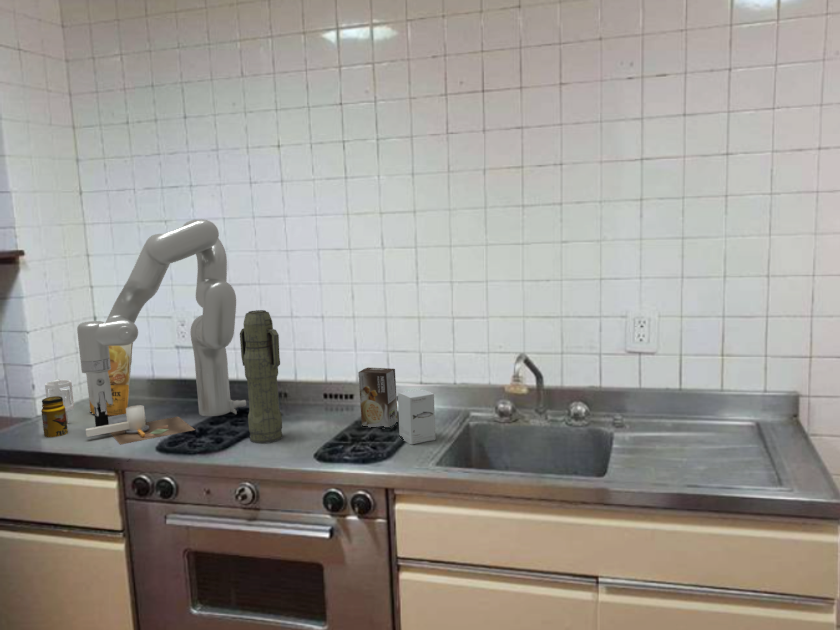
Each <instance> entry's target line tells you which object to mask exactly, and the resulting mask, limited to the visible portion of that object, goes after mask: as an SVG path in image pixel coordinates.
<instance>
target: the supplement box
mask: <svg viewBox="0 0 840 630" xmlns="http://www.w3.org/2000/svg"><path fill="white" fill-rule="evenodd" d="M397 414H398V432H399V433H398V435H400V436H402V437H403V439H404V440H403V441H404V442H405V443H407V444H408V445H409V444H410V445H411V446H412V445H414V444H420V443H426V442H430V441H435V440H436V417H435V416H436V415H435V393H433V392H431V391H428V390H425V389H423V388H421V389H419V388H418V389H414V390H413V389H412V390H407V391H400V392H397Z"/></svg>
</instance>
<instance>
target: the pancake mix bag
mask: <svg viewBox="0 0 840 630" xmlns="http://www.w3.org/2000/svg"><path fill="white" fill-rule="evenodd" d="M133 344H134V342H133V343H131V344H129V345H125V346H109V354H110V364H111V369H110V370H108V374H109V379H110V386H111V393H112V400H113V404H112V405H109V404H108V403H107V402H106V405H107V415H108V417H115V416H116V417H117V416H121V415H122V416H123V415H126V408H127V407H129V396H130V382H131V370H132V369H131V368H132V367H131V366H132V362H133V361H132V359H133V358H132V357H133V356H132V355H133ZM88 399H89V398H88ZM90 411H91V412H92V413H93V414H95V411H94V406H93V405H92V404H91V402H90V399H89V412H90ZM92 413H91V414H92Z"/></svg>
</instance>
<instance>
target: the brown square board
mask: <svg viewBox="0 0 840 630" xmlns="http://www.w3.org/2000/svg"><path fill="white" fill-rule="evenodd" d="M146 425H148V426H149V430H147V431H145V432H144V433H145V436H143V437H142V436H141V435H140V434H139V433H134V434H128V433H125V430H122V431H116V432H111V433H110V435H111V436H112V437H113V438H114V439H115V441H116V442H117V443H118V445H124V444H131V443H137V442H140V441H141V442H142V441H146V440H152V439H156V438H161V437H166V436H172V435H177V434H182V433H186V432H193V431H195V430H196V428H194V427H193V426H191V425H190V424H189V423H187V422H186V421H184V420H183V419H182V418H181V417H179V416H173V417H170V418H162V419H157V420H152V421H148V422H147V421H146Z"/></svg>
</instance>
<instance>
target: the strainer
mask: <svg viewBox="0 0 840 630" xmlns="http://www.w3.org/2000/svg"><path fill="white" fill-rule="evenodd" d="M44 387H45V388H44V390H45V398H48V397H53V396H60V397H62V398H63V405H64V406H65V411H66V419H67V425H68V424H69V419H68V418H69V417H68V412H69V411H72V410H74V409H75V403H74V394H73V393H74V392H73V386H72V380H70V379H59V378H58V379H54V380H52V381H51V380H50V381H47V382H45V383H44ZM66 388H67V389H66Z"/></svg>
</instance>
